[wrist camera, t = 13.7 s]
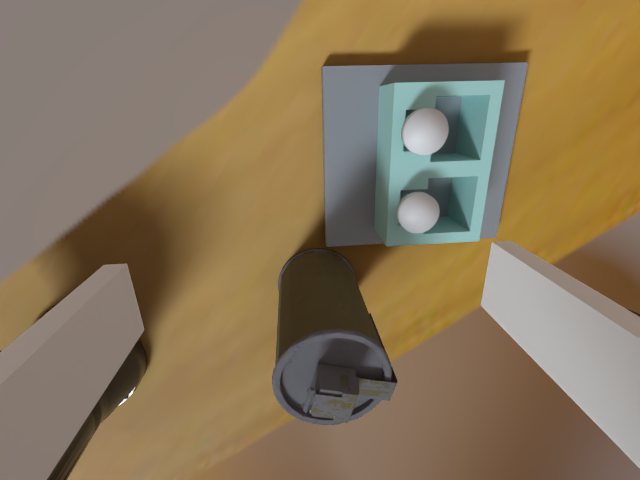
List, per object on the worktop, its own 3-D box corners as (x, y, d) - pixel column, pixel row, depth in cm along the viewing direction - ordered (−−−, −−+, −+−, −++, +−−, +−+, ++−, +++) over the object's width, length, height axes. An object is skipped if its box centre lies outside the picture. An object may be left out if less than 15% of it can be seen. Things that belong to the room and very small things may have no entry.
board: (325, 242, 43) (334, 276, 34) (321, 67, 35) (331, 54, 27) (489, 233, 44) (538, 263, 36) (519, 64, 37) (589, 50, 28)
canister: (271, 310, 46) (259, 447, 27) (287, 241, 42) (286, 344, 24) (346, 322, 48) (383, 458, 29) (368, 257, 44) (425, 365, 26)
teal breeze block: (374, 229, 41) (386, 246, 36) (379, 86, 35) (394, 82, 30) (455, 224, 42) (479, 241, 37) (474, 84, 36) (505, 80, 31)
